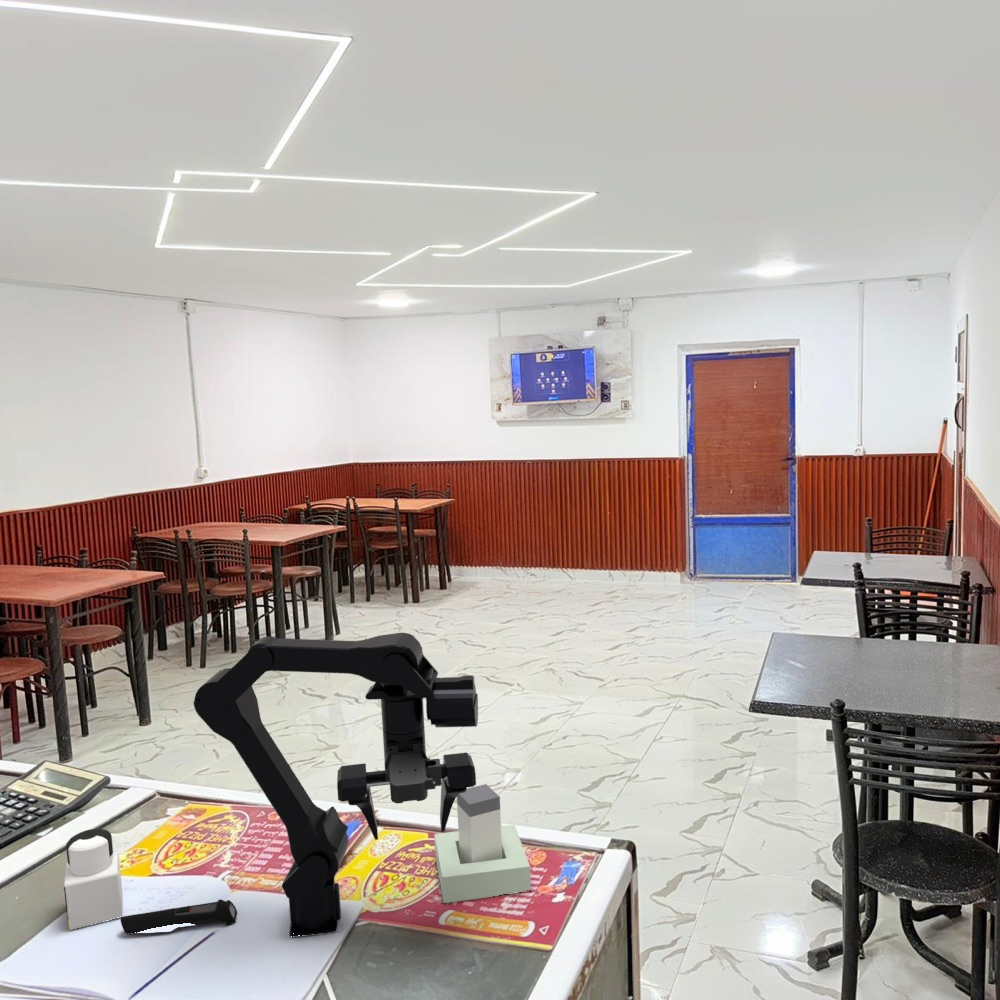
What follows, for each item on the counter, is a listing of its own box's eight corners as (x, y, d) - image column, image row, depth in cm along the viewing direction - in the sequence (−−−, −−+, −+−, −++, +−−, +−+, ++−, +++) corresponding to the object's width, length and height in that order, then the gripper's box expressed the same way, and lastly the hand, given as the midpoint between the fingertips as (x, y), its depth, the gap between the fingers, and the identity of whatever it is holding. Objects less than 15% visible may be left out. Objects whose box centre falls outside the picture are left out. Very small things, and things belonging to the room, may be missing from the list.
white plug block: (472, 880, 132) (469, 804, 131) (460, 864, 137) (456, 791, 135) (502, 871, 134) (499, 796, 133) (489, 856, 139) (486, 783, 137)
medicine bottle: (70, 906, 132) (62, 830, 130) (122, 893, 134) (115, 819, 133) (68, 932, 125) (59, 852, 124) (122, 918, 128) (115, 840, 126)
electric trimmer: (126, 929, 126) (123, 908, 126) (237, 911, 129) (235, 891, 128) (119, 945, 122) (117, 924, 122) (235, 927, 125) (233, 906, 125)
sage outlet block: (443, 903, 128) (442, 877, 128) (435, 857, 141) (434, 833, 141) (531, 891, 130) (530, 866, 130) (515, 847, 143) (514, 824, 143)
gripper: (333, 758, 111) (341, 873, 113) (479, 742, 114) (484, 855, 116) (334, 725, 122) (342, 831, 124) (468, 712, 125) (473, 816, 127)
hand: (409, 834), depth 123 cm, fingers open, 9 cm apart
